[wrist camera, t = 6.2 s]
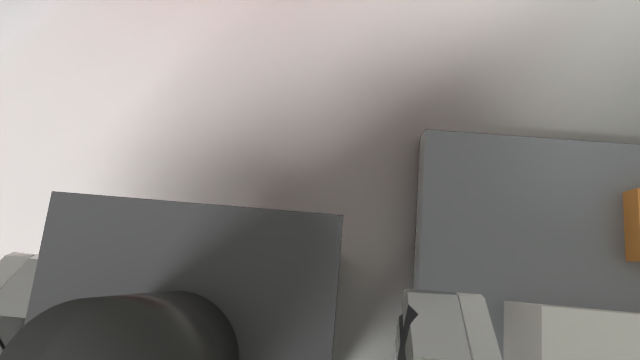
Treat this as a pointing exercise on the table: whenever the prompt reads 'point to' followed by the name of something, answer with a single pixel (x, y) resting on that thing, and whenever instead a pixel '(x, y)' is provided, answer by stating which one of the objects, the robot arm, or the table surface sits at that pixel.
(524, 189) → the socket
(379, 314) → the table surface
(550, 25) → the table surface
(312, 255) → the plug
